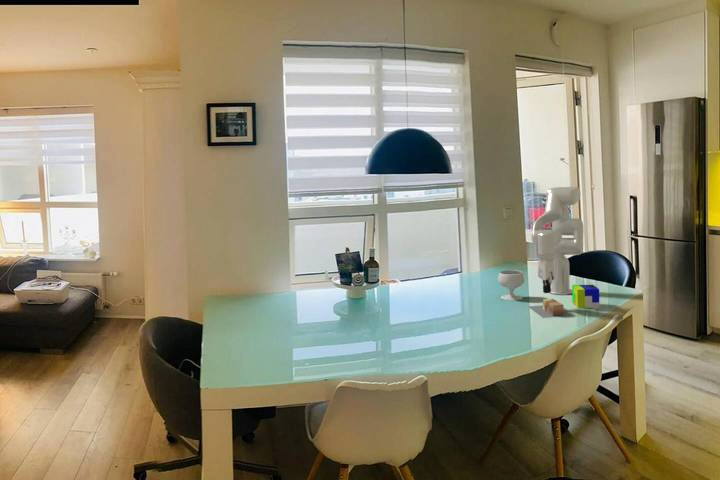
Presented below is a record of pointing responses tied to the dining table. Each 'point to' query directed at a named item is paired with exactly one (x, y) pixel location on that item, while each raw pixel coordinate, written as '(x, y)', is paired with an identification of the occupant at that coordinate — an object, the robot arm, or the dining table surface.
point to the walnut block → (553, 307)
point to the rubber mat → (545, 314)
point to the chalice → (511, 283)
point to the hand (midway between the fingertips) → (546, 292)
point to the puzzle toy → (585, 296)
